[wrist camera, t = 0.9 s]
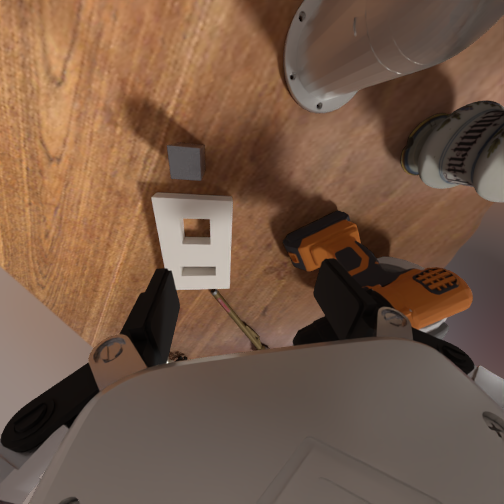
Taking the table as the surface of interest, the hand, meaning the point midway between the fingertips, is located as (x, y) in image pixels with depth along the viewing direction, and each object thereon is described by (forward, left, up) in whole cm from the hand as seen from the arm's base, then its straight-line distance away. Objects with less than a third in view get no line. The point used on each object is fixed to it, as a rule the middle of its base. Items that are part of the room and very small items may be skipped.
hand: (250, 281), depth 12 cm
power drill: (+11, +17, -26) cm, 33 cm away
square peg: (-4, -6, -26) cm, 27 cm away
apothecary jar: (-9, +36, -26) cm, 45 cm away
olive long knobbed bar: (+40, +5, -27) cm, 48 cm away
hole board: (+12, -6, -26) cm, 29 cm away
